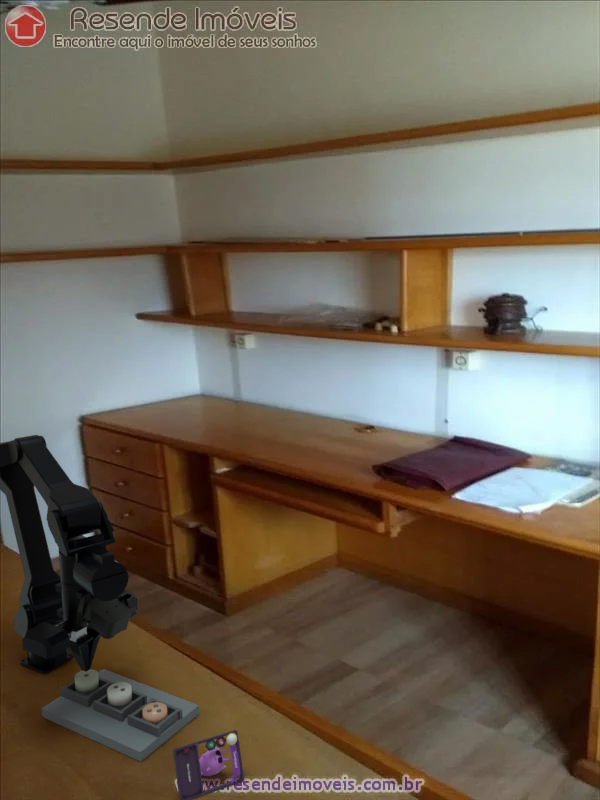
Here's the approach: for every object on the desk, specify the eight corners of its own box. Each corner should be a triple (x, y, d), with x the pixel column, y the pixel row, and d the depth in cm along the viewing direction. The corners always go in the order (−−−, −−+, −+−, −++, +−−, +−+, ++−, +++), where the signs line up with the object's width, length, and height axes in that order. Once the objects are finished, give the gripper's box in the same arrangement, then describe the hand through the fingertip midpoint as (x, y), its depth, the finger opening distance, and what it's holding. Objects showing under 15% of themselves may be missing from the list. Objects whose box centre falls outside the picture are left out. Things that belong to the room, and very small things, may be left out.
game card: (175, 751, 102) (239, 731, 106) (163, 741, 107) (225, 723, 111) (182, 804, 102) (246, 782, 106) (170, 792, 106) (232, 772, 110)
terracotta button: (137, 722, 116) (137, 711, 116) (154, 710, 119) (153, 699, 119) (156, 730, 115) (155, 719, 114) (172, 717, 118) (172, 706, 117)
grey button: (102, 701, 120) (102, 690, 119) (119, 689, 123) (119, 679, 122) (120, 708, 118) (119, 697, 118) (137, 696, 121) (136, 685, 121)
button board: (42, 717, 121) (40, 700, 120) (104, 676, 131) (103, 661, 131) (140, 761, 110) (139, 743, 110) (199, 714, 121) (198, 697, 121)
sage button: (70, 688, 123) (69, 677, 123) (87, 677, 126) (86, 666, 126) (86, 694, 121) (85, 683, 121) (103, 683, 124) (103, 672, 124)
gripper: (70, 615, 108) (77, 717, 111) (161, 566, 124) (165, 657, 127) (16, 596, 114) (24, 693, 117) (109, 552, 129) (114, 639, 133)
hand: (85, 670), depth 123 cm, fingers closed
